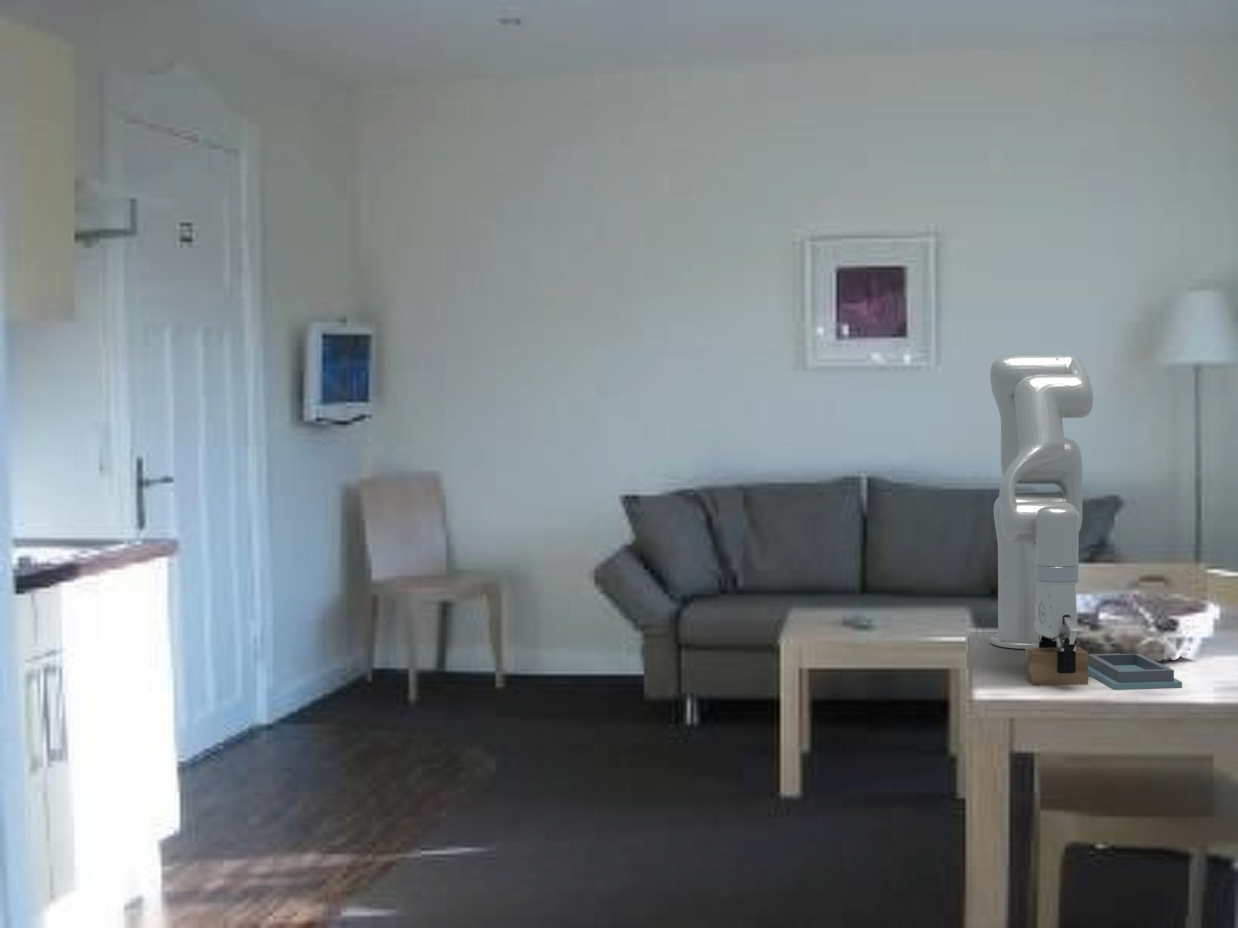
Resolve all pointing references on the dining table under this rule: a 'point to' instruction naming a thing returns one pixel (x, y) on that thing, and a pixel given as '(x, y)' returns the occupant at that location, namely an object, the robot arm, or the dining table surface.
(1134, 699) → the dining table surface
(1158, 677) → the cradle
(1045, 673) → the walnut block
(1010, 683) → the dining table surface
